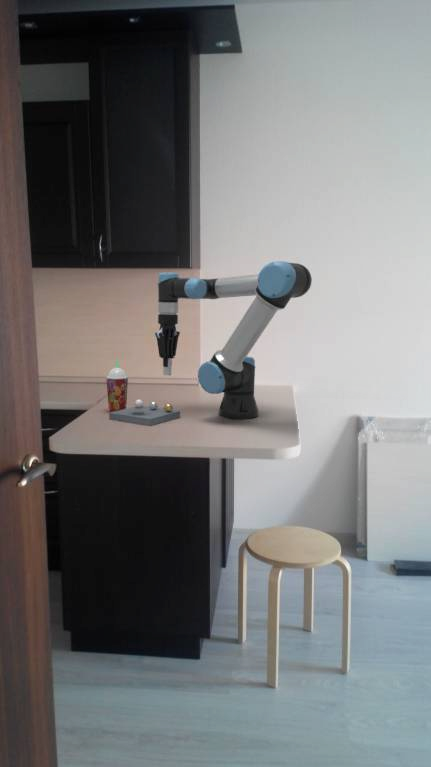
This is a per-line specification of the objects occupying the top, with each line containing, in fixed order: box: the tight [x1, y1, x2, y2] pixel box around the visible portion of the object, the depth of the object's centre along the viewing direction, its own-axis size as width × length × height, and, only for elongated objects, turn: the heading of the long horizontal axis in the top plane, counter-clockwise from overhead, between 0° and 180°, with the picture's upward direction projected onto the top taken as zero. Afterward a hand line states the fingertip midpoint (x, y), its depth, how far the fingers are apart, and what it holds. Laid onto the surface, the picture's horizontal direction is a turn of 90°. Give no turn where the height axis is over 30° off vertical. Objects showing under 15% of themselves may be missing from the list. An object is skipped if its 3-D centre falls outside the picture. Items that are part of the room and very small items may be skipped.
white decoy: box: [134, 399, 144, 408], centre depth 225 cm, size 3×3×3 cm
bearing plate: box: [108, 405, 181, 427], centre depth 218 cm, size 19×18×2 cm
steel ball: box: [148, 400, 159, 410], centre depth 222 cm, size 3×3×3 cm
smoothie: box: [105, 360, 129, 413], centre depth 229 cm, size 8×8×20 cm
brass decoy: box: [163, 403, 174, 412], centre depth 218 cm, size 3×3×3 cm
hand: (167, 375), depth 228 cm, fingers closed
